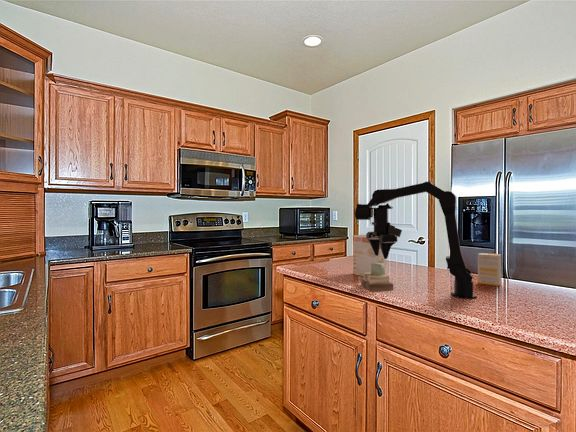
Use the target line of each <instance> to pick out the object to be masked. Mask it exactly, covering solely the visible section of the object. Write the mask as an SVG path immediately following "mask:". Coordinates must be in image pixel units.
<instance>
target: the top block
mask: <svg viewBox="0 0 576 432" xmlns="http://www.w3.org/2000/svg"><path fill="white" fill-rule="evenodd" d="M363 279H364V280H365V281H367V282H368V283H370V284H388V283H389V282H390V275H388V274H387V273H386V274H384V273H383V275H382V276H375V275H371V273H364V276H363Z"/></svg>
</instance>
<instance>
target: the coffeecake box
mask: <svg viewBox="0 0 576 432" xmlns="http://www.w3.org/2000/svg"><path fill="white" fill-rule="evenodd" d="M386 260H387V259H384V257H383V254H382V250H381V247H380V246H379V254H378V256H376V255H375V253H374V251H373V249H372V247H371V245H370V243H369V241H368V238H366V234H356V235H355V234H354V235H353V236H352V274H353V275H356V276H361V277H364V273H371V263H383V273H384V274H386V275H387V273H386V268H387V267H386V264H387V263H386Z"/></svg>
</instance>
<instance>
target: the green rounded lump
mask: <svg viewBox="0 0 576 432" xmlns="http://www.w3.org/2000/svg"><path fill="white" fill-rule="evenodd" d="M371 275H375V276H382V275H383V263H371Z"/></svg>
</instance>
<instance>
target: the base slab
mask: <svg viewBox="0 0 576 432" xmlns="http://www.w3.org/2000/svg"><path fill="white" fill-rule="evenodd" d="M360 281H361V282H360V284H361V286H362V287H363V288H365V289H367V290H368V291H369V292H375V291H394V283H392V282H391V281H389V283H388V284H370V283H368V282H367V281H365V280H364V278H362V279H360Z"/></svg>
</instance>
